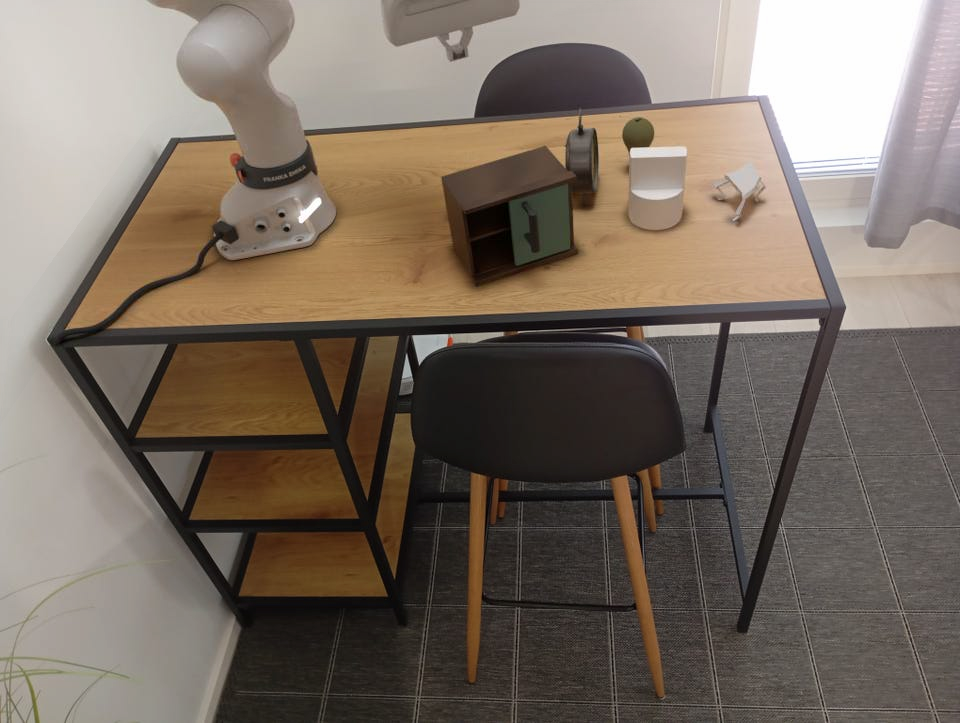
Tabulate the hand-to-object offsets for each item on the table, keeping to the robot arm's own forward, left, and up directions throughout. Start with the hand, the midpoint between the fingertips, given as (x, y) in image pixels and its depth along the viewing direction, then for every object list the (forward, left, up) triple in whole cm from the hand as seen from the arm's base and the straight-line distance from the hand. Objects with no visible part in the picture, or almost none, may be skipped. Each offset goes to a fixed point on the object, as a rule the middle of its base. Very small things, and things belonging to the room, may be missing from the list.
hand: (457, 58), depth 120 cm
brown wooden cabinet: (+2, -11, -29) cm, 31 cm away
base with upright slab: (+27, -14, -29) cm, 42 cm away
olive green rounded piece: (+31, 0, -29) cm, 43 cm away
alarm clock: (+19, -2, -29) cm, 35 cm away
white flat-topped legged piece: (+40, -18, -29) cm, 53 cm away
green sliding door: (+5, -19, -28) cm, 34 cm away
